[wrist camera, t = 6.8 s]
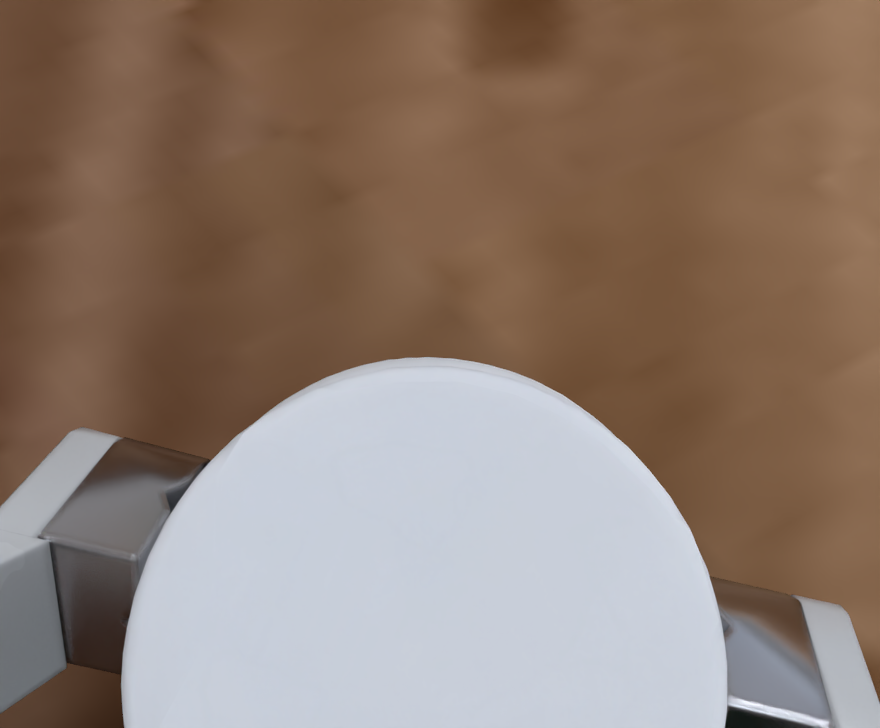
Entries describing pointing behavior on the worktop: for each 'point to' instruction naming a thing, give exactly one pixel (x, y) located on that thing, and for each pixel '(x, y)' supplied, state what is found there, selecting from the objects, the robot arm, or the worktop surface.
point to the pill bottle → (425, 570)
